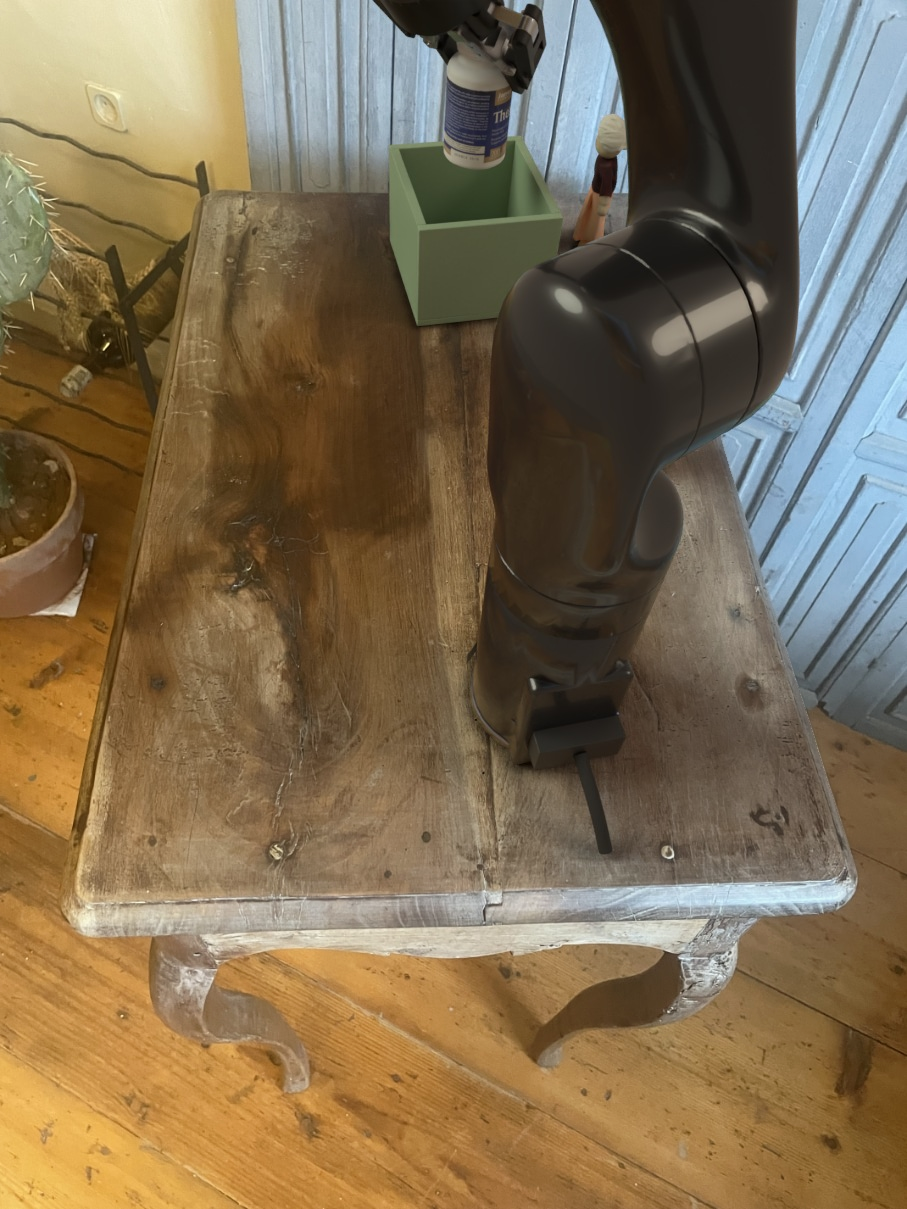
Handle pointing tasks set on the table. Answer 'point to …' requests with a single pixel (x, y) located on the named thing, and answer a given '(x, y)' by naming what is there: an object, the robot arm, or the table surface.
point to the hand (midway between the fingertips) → (491, 69)
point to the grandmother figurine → (601, 180)
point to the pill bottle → (476, 111)
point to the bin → (467, 229)
